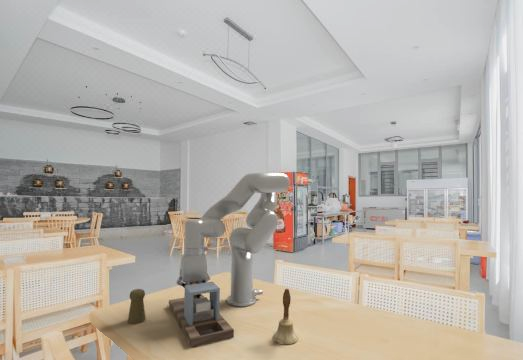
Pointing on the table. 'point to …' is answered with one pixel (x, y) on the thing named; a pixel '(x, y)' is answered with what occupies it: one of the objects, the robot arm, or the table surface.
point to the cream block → (201, 304)
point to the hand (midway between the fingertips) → (193, 298)
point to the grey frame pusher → (202, 314)
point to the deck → (200, 326)
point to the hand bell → (285, 324)
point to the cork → (136, 307)
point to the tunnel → (201, 289)
